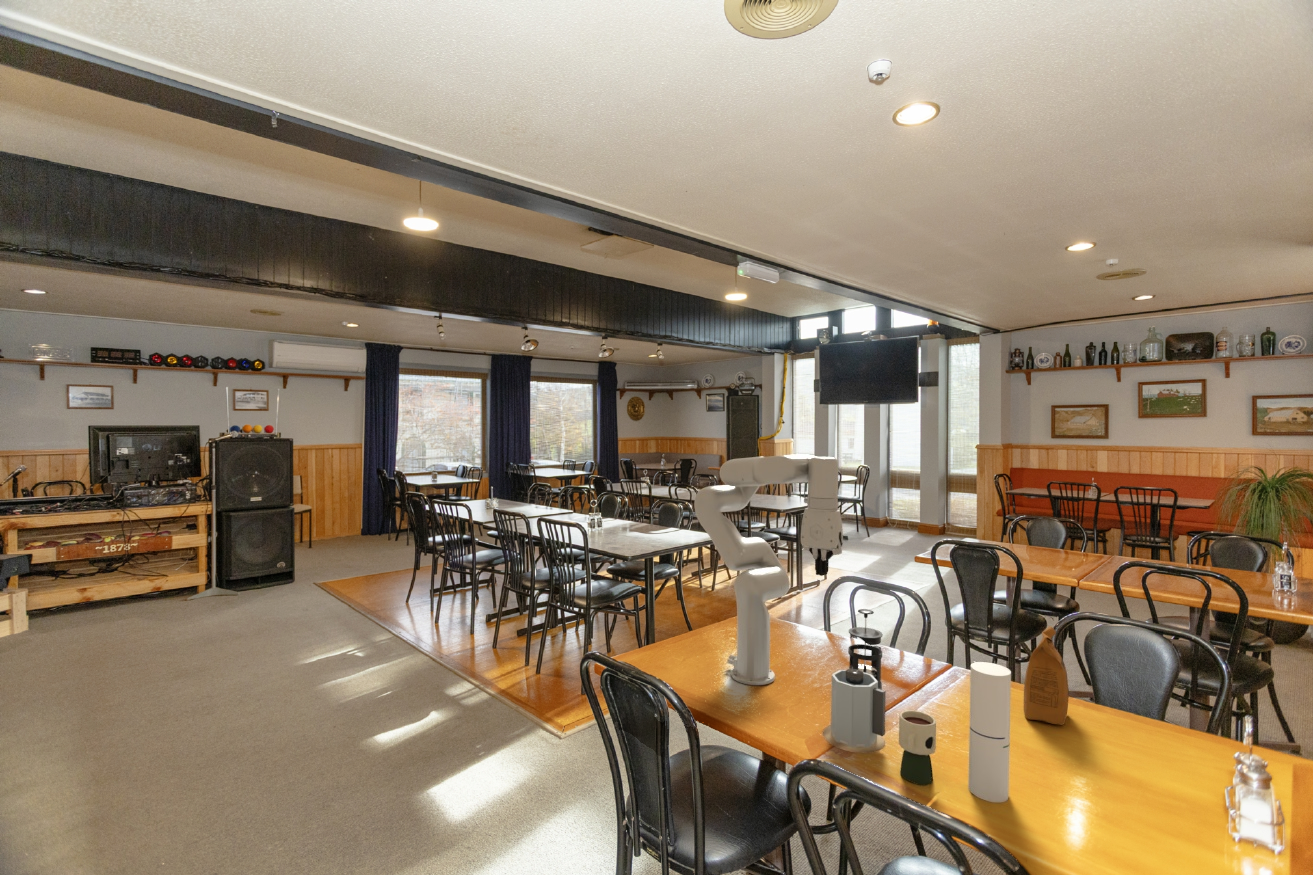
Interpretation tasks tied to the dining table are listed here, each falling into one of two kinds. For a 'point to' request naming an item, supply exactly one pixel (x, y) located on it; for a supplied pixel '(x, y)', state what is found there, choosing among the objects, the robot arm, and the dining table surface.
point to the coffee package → (1046, 683)
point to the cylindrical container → (989, 731)
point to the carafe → (857, 711)
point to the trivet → (874, 748)
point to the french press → (870, 638)
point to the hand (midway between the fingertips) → (821, 574)
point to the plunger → (854, 676)
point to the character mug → (917, 745)
